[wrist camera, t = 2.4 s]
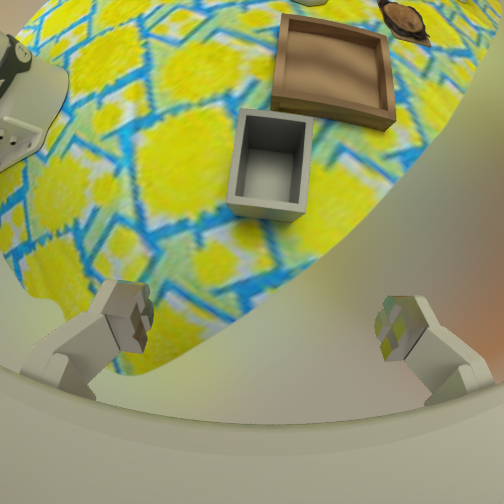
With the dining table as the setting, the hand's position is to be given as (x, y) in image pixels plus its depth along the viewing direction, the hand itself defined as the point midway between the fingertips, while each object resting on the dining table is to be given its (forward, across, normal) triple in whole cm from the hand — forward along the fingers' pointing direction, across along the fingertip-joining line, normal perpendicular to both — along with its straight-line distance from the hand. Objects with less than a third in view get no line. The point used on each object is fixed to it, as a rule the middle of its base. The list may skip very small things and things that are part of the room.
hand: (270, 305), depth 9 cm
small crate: (+22, -1, +4) cm, 23 cm away
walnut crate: (+30, -8, -9) cm, 33 cm away
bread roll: (+39, -22, -22) cm, 50 cm away
